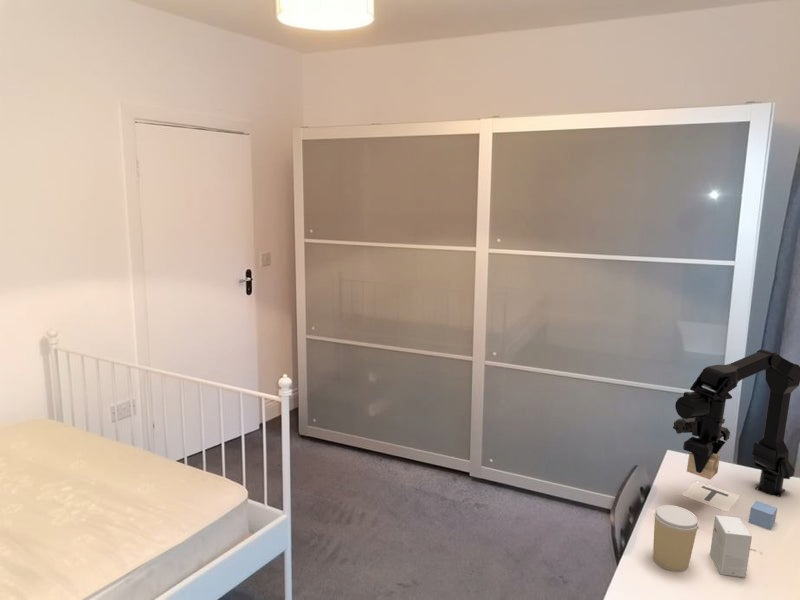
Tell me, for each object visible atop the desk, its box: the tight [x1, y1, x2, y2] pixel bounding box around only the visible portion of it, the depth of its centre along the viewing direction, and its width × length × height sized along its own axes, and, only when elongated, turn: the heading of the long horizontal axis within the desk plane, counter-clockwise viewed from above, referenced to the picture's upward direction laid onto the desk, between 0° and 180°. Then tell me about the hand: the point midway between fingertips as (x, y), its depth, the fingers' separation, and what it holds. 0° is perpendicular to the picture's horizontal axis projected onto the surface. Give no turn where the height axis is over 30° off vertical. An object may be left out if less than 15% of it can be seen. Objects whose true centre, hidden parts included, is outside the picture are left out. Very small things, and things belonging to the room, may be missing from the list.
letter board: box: [681, 480, 741, 513], centre depth 173 cm, size 12×12×1 cm
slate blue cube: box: [748, 500, 778, 531], centre depth 159 cm, size 5×5×5 cm
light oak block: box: [686, 452, 721, 480], centre depth 165 cm, size 6×6×5 cm
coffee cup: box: [652, 504, 699, 572], centre depth 142 cm, size 9×9×12 cm
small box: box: [709, 514, 752, 578], centre depth 141 cm, size 8×6×10 cm
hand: (702, 468), depth 165 cm, fingers closed on light oak block, 6 cm apart
